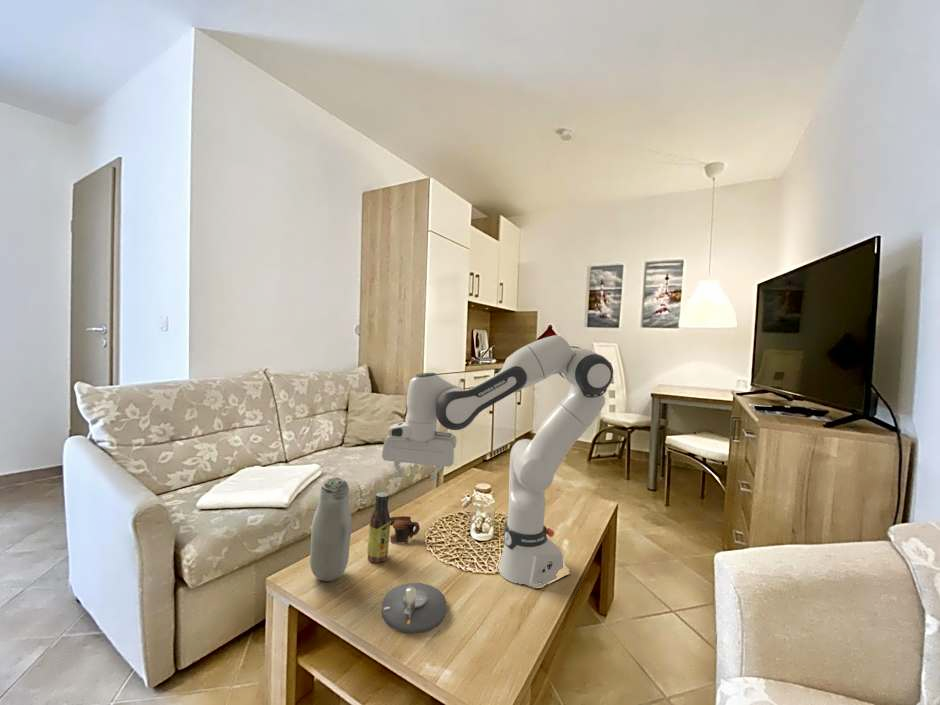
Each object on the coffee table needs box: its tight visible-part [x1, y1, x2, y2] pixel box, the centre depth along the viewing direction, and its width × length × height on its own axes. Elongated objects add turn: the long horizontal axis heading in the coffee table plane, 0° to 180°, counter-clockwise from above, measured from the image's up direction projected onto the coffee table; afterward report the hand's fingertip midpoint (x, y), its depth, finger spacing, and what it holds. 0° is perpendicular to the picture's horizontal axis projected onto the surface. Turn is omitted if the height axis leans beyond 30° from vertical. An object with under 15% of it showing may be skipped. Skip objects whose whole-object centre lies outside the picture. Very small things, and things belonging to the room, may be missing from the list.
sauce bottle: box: [366, 491, 391, 564], centre depth 123 cm, size 6×6×20 cm
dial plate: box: [381, 582, 447, 634], centre depth 102 cm, size 16×16×2 cm
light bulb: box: [403, 586, 427, 618], centre depth 100 cm, size 10×6×6 cm, turn 171°
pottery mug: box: [389, 515, 421, 544], centre depth 138 cm, size 12×10×8 cm
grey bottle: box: [309, 477, 353, 582], centre depth 112 cm, size 10×10×28 cm
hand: (416, 478), depth 113 cm, fingers open, 8 cm apart
